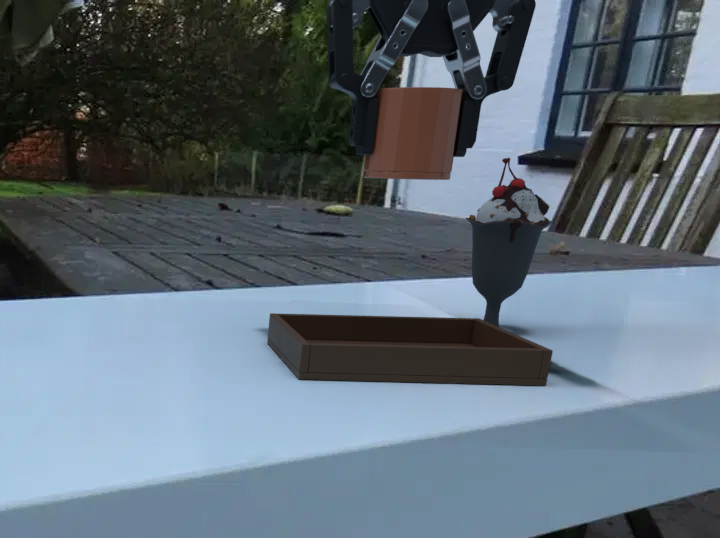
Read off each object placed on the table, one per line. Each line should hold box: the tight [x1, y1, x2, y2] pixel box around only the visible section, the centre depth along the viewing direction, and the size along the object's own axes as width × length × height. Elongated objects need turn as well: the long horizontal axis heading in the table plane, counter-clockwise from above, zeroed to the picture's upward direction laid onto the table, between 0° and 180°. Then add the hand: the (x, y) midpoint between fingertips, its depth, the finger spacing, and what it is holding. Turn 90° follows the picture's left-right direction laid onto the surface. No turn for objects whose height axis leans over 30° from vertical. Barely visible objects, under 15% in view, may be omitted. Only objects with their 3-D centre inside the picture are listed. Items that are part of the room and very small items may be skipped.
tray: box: [267, 313, 554, 387], centre depth 70 cm, size 17×13×2 cm
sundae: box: [465, 157, 553, 327], centre depth 77 cm, size 7×7×15 cm
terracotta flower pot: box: [363, 86, 463, 181], centre depth 67 cm, size 6×6×6 cm
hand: (409, 154), depth 67 cm, fingers closed on terracotta flower pot, 6 cm apart
